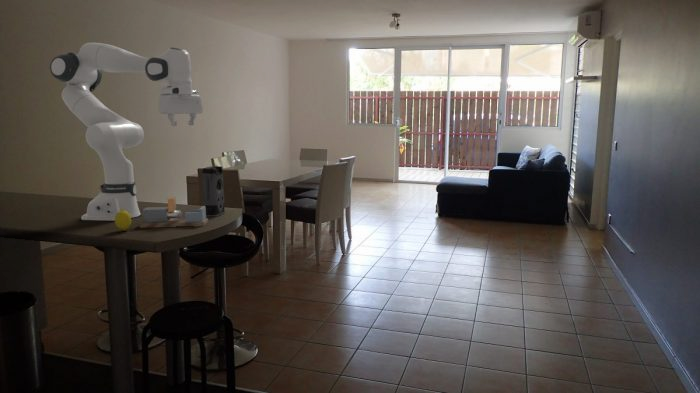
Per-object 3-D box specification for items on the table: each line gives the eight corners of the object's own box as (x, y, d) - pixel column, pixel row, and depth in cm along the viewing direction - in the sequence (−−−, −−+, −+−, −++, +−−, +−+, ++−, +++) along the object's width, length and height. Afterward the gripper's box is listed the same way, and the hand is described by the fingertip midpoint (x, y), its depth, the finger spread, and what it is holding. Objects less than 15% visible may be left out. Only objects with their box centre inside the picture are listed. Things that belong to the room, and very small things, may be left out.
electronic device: (216, 217, 220) (214, 168, 217) (203, 216, 221) (200, 168, 218) (226, 212, 229) (223, 166, 226) (213, 212, 230) (210, 166, 227)
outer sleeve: (143, 222, 204) (142, 209, 203) (147, 219, 208) (146, 207, 208) (167, 222, 204) (166, 209, 203) (170, 219, 209) (170, 206, 208)
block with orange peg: (142, 219, 204) (140, 199, 202) (145, 217, 208) (143, 197, 206) (179, 219, 205) (178, 198, 203) (182, 217, 209) (180, 196, 207)
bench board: (139, 227, 202) (139, 223, 202) (146, 222, 210) (145, 219, 210) (203, 226, 204) (203, 222, 203) (208, 221, 212) (207, 218, 211)
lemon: (118, 229, 200) (117, 208, 198) (134, 228, 200) (132, 208, 199) (113, 232, 194) (111, 211, 193) (129, 232, 195) (127, 210, 193)
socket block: (185, 222, 204) (184, 209, 203) (189, 218, 210) (188, 206, 209) (202, 221, 204) (202, 209, 204) (206, 218, 210) (205, 206, 209)
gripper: (193, 91, 221) (195, 124, 223) (155, 89, 203) (157, 126, 206) (205, 90, 218) (207, 124, 221) (167, 89, 200) (169, 126, 203)
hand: (182, 125), depth 213 cm, fingers open, 8 cm apart
